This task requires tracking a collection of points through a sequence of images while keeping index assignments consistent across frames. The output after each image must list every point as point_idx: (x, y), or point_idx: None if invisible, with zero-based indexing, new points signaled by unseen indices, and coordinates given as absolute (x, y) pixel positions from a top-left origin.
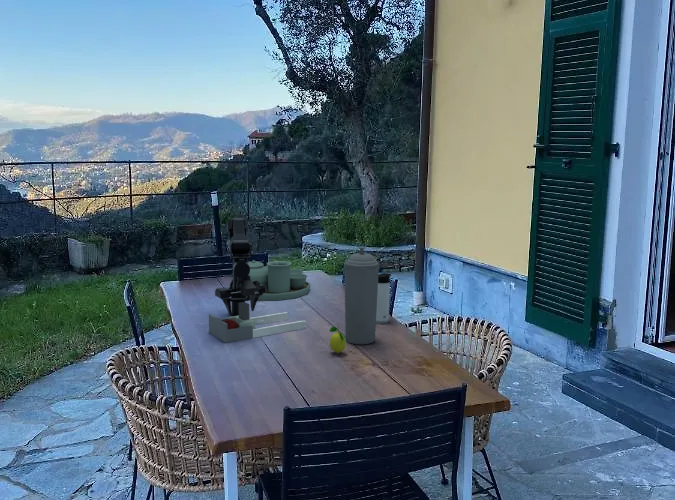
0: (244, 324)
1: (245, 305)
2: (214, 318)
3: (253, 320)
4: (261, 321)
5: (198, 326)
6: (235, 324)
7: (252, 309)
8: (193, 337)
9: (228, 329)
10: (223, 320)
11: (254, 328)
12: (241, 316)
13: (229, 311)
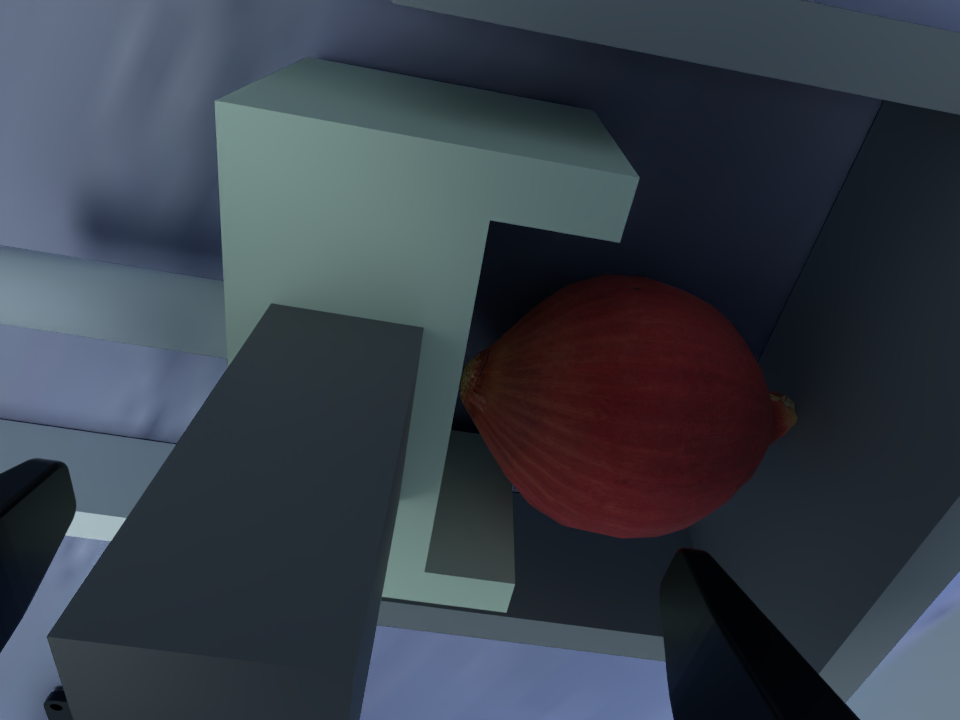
0: (518, 147)
1: (255, 625)
2: (909, 618)
3: (220, 178)
4: (4, 270)
5: (632, 698)
6: (581, 348)
7: (33, 496)
8: None
9: (724, 319)
10: (553, 607)
11: (286, 73)
12: (404, 448)
13: (770, 622)
